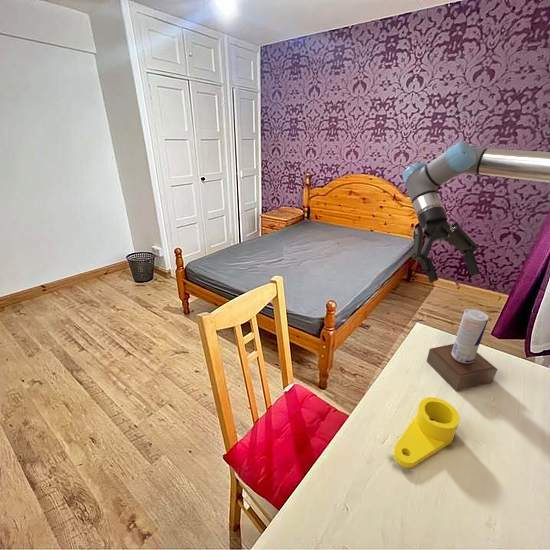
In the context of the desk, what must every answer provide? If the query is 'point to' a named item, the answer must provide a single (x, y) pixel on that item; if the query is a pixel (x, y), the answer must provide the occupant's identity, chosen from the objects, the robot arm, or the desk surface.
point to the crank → (427, 432)
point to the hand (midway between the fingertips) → (455, 278)
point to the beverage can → (469, 335)
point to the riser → (460, 369)
